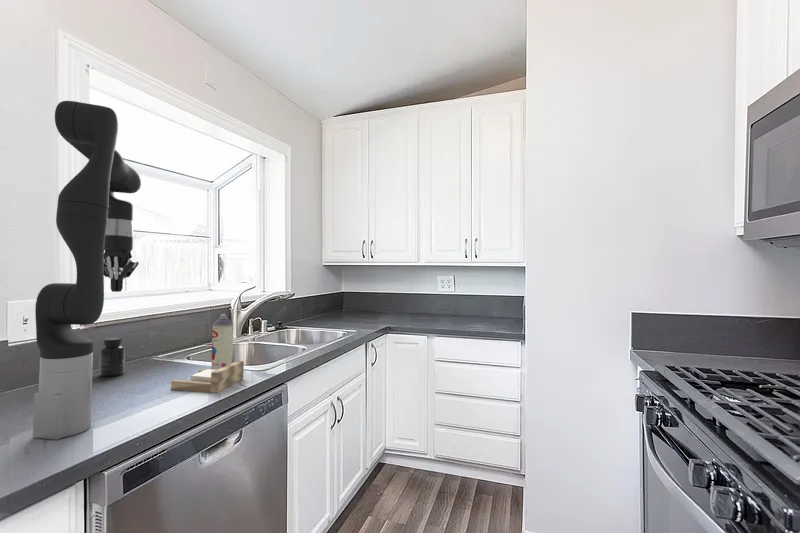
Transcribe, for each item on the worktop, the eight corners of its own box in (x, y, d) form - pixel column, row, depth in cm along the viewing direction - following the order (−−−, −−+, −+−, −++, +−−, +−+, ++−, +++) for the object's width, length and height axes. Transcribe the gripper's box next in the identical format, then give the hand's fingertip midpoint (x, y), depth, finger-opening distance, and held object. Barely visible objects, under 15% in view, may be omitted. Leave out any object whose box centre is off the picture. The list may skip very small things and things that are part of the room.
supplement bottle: (128, 374, 136) (129, 338, 136) (104, 378, 130) (105, 341, 130) (118, 370, 140) (119, 336, 140) (95, 374, 134) (96, 338, 134)
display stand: (216, 392, 119) (217, 372, 119) (170, 389, 122) (171, 369, 122) (243, 378, 134) (243, 361, 134) (201, 375, 136) (202, 358, 136)
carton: (211, 390, 122) (211, 377, 122) (190, 388, 124) (191, 375, 124) (227, 383, 130) (227, 370, 130) (207, 381, 132) (207, 369, 132)
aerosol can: (209, 368, 146) (211, 313, 145) (230, 366, 149) (231, 313, 149) (212, 373, 140) (214, 316, 140) (233, 371, 144) (235, 315, 143)
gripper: (87, 233, 120) (86, 291, 120) (127, 234, 118) (126, 293, 118) (109, 235, 127) (107, 290, 127) (147, 236, 125) (145, 291, 125)
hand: (116, 291), depth 122 cm, fingers closed
